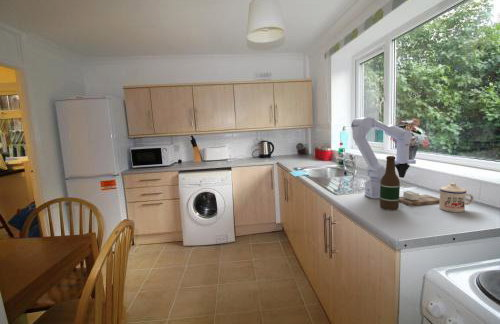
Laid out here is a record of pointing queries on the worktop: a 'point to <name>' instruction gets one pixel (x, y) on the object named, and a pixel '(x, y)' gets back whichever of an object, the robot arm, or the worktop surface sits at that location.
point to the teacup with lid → (453, 198)
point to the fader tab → (411, 195)
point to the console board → (420, 200)
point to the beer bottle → (390, 187)
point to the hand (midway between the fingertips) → (401, 177)
